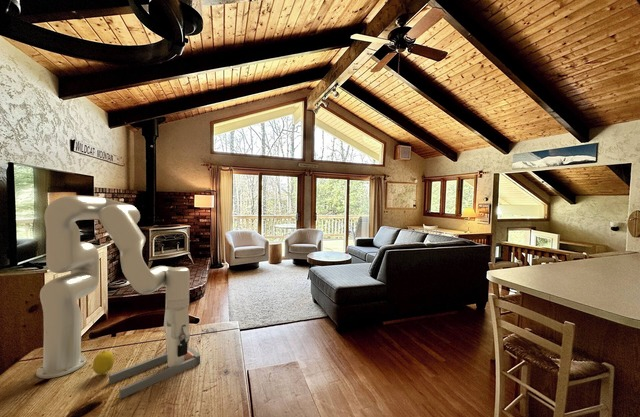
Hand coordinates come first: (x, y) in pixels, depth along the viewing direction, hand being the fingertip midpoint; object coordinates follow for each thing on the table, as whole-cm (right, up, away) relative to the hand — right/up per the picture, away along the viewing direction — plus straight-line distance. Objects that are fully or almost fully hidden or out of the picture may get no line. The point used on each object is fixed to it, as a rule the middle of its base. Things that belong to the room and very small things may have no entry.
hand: (176, 350), depth 98 cm
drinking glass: (0, -5, 0) cm, 5 cm away
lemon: (-21, -5, -7) cm, 22 cm away
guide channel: (-4, -5, -5) cm, 8 cm away
